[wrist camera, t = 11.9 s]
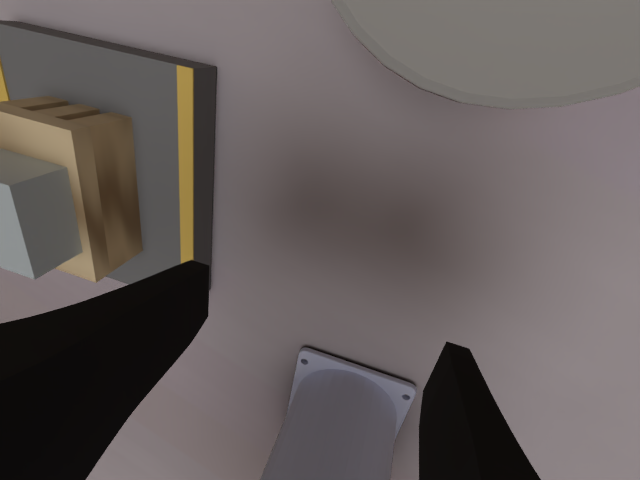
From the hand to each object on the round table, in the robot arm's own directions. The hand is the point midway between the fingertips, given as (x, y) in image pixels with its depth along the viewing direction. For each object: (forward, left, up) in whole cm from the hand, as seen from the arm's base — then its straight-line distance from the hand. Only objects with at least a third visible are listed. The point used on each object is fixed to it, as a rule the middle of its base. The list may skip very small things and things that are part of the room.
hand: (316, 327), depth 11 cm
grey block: (-2, +15, -4) cm, 16 cm away
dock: (-2, +15, -10) cm, 18 cm away
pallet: (-2, +15, -8) cm, 17 cm away
